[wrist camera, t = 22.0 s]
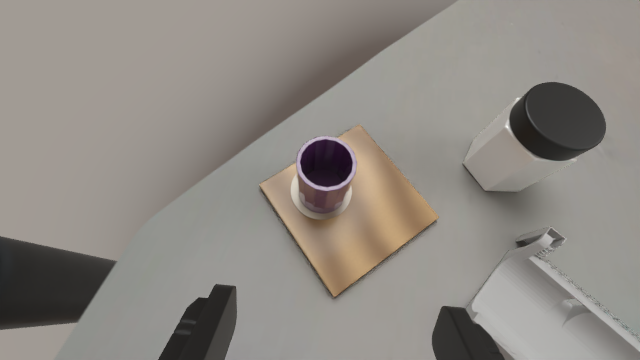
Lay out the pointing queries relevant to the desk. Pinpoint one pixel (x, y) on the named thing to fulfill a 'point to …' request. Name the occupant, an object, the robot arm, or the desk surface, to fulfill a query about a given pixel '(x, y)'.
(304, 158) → the plum cup
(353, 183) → the board
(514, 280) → the skate ramp
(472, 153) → the jar
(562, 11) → the desk surface
